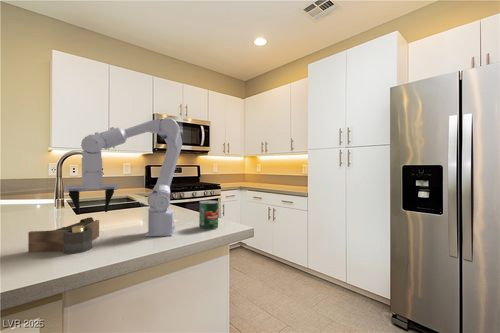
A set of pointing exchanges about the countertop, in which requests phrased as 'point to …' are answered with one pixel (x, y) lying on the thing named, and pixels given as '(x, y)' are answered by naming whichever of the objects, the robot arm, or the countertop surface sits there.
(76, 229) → the pin
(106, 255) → the countertop surface
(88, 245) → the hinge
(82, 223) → the hand tool
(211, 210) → the canned tomato
